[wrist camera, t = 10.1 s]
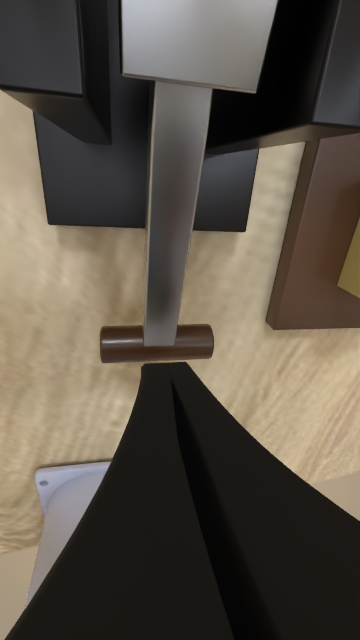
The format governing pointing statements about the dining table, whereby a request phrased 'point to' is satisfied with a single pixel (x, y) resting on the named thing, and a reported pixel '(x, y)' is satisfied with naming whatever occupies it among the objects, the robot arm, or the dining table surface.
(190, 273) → the dining table surface
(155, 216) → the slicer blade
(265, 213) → the dining table surface
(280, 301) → the board
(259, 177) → the dining table surface
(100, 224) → the slicer
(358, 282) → the butter
